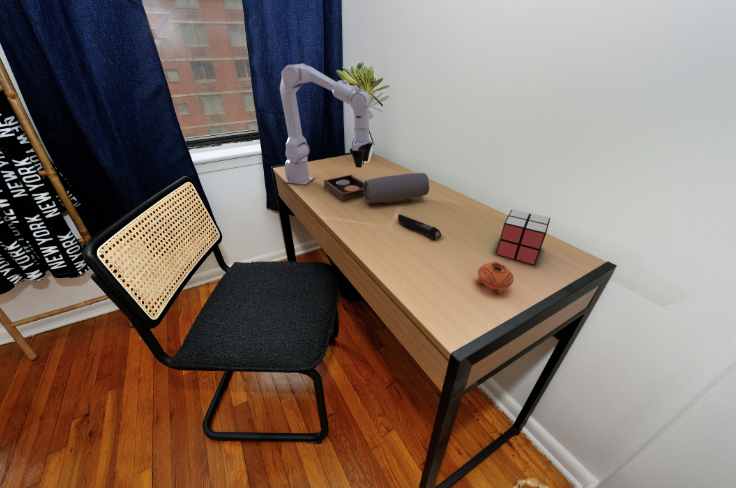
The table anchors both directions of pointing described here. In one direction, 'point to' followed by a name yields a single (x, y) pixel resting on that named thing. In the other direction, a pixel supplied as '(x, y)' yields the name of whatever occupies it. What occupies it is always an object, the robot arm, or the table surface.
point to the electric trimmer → (420, 226)
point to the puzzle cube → (523, 236)
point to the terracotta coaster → (351, 188)
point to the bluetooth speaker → (396, 188)
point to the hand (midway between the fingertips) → (361, 164)
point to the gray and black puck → (342, 184)
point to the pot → (495, 276)
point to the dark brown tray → (341, 194)
